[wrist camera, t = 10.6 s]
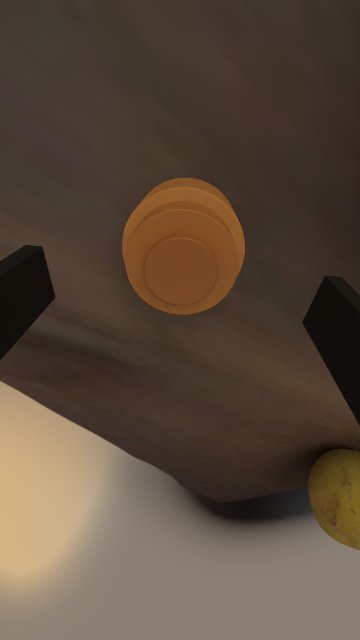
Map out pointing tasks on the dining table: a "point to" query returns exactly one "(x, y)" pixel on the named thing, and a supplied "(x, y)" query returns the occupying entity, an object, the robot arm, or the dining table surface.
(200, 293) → the stepped orange cylinder
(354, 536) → the fruit
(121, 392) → the dining table surface
